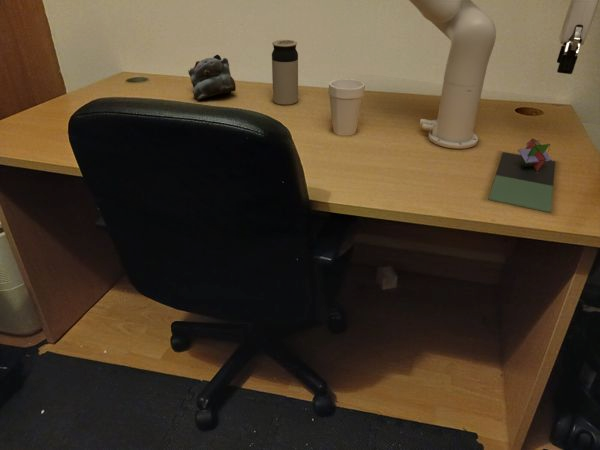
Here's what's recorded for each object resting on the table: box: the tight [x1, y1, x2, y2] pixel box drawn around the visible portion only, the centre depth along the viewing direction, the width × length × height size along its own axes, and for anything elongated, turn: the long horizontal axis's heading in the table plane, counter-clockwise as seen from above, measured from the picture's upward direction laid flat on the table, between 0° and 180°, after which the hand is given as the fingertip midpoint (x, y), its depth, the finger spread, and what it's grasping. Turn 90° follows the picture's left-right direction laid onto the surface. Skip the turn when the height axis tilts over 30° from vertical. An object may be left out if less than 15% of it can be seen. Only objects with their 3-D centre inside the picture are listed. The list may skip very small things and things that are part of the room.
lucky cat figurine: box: [187, 54, 237, 101], centre depth 155 cm, size 15×12×14 cm
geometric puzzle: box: [517, 138, 553, 172], centre depth 111 cm, size 7×7×8 cm
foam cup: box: [328, 78, 366, 136], centre depth 128 cm, size 10×9×13 cm
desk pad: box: [487, 151, 556, 214], centre depth 108 cm, size 12×26×1 cm, turn 154°
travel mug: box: [271, 39, 299, 106], centre depth 148 cm, size 8×8×18 cm
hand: (563, 68), depth 115 cm, fingers open, 9 cm apart
